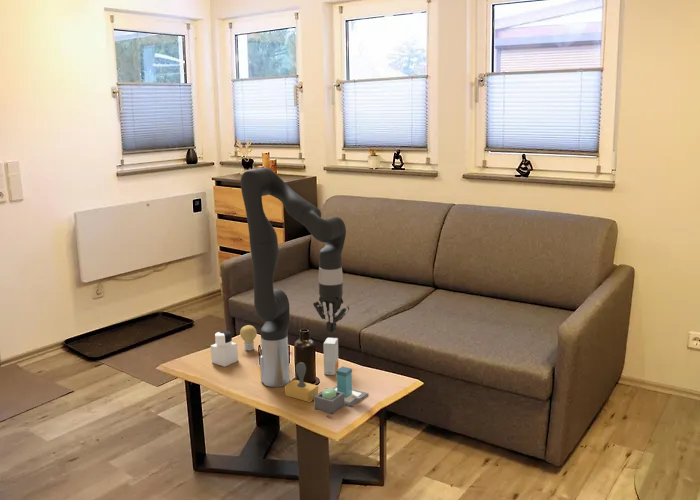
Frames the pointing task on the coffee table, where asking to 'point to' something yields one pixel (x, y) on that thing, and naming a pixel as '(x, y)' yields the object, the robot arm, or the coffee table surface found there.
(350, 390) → the teal lidded box
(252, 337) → the light bulb
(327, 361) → the skincare box
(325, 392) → the button
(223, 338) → the medicine bottle
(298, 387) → the rubber stamp
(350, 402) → the clipboard
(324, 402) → the button housing
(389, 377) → the coffee table surface
